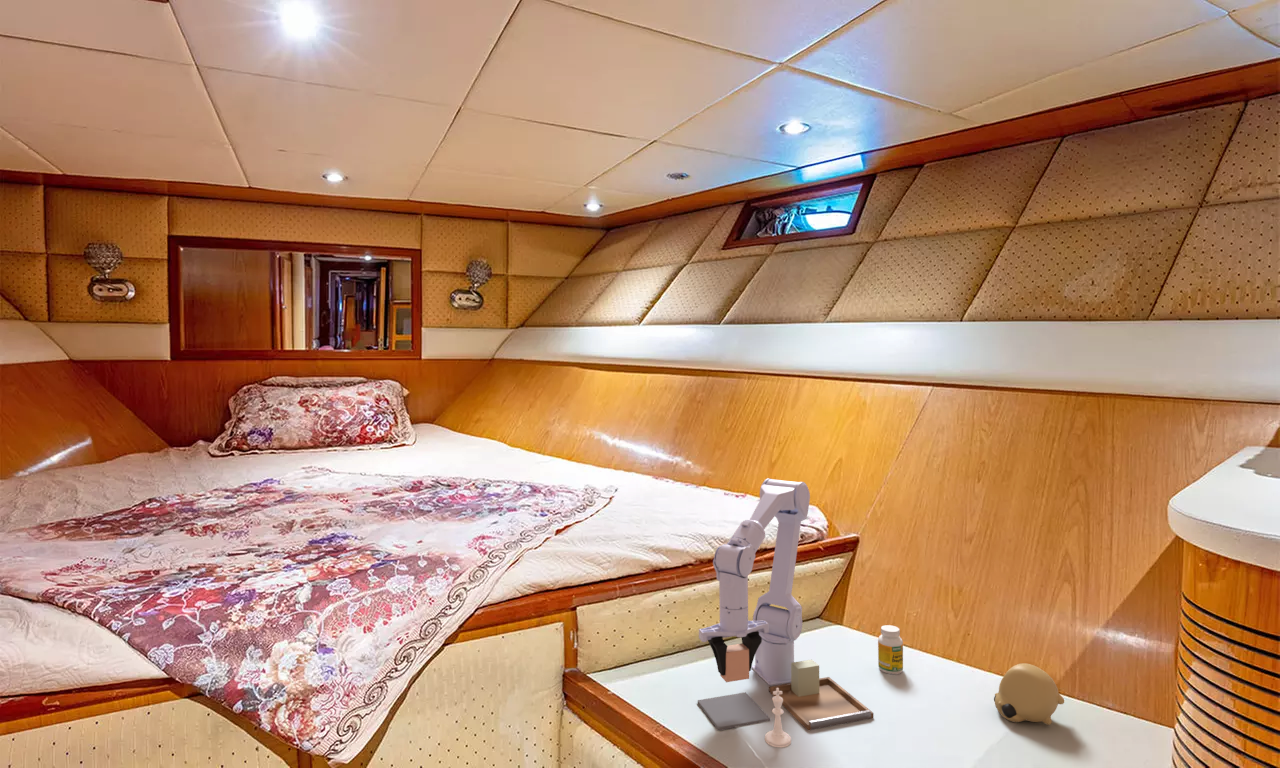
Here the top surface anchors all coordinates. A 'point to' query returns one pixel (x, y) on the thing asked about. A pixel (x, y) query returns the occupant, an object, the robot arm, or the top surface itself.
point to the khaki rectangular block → (805, 678)
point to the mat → (732, 711)
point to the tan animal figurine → (1027, 695)
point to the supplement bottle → (890, 650)
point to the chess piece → (777, 725)
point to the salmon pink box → (736, 663)
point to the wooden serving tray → (823, 705)
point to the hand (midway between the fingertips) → (734, 671)
